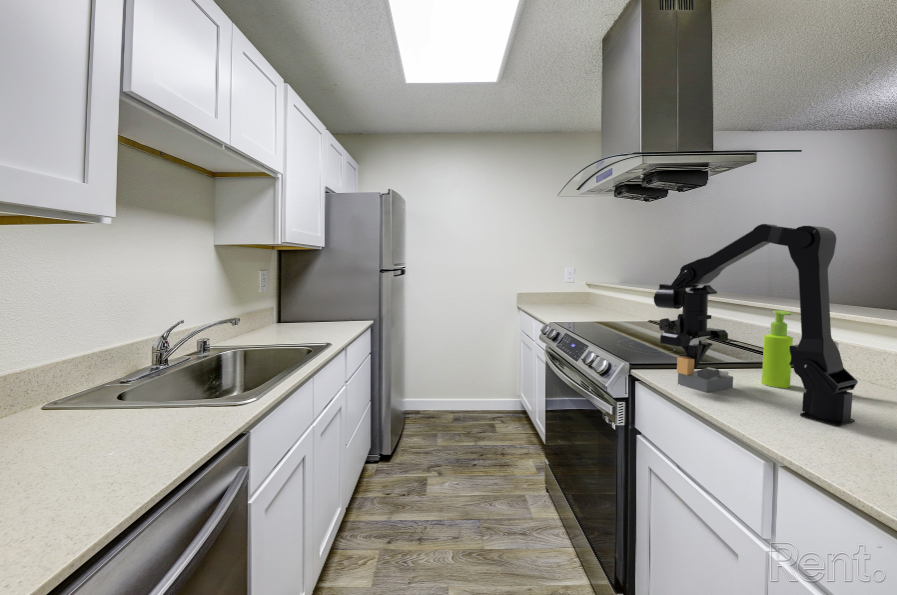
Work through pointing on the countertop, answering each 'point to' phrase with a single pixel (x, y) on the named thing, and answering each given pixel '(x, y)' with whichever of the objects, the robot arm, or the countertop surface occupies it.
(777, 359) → the soap dispenser
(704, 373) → the block
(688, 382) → the panel
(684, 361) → the orange slider
